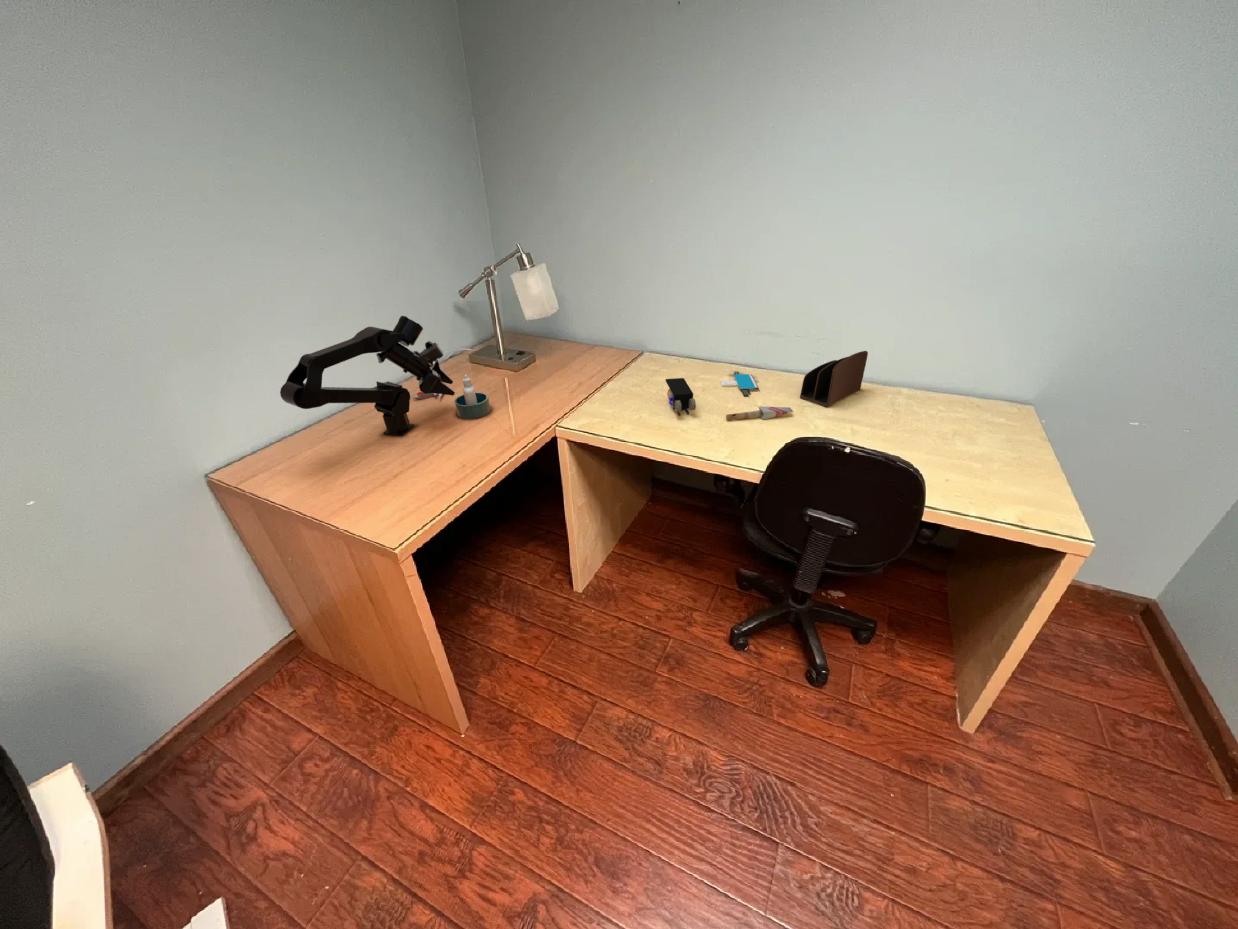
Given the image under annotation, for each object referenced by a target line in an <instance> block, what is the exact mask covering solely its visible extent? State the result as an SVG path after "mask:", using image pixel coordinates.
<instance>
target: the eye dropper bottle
mask: <svg viewBox="0 0 1238 929" xmlns="http://www.w3.org/2000/svg"><path fill="white" fill-rule="evenodd" d="M463 377H464V378H463V379H462V384H463V387H462V392H463V394H464V397H465V402H466V406H467V405H475V404H477V399H476V394H475V392H476V389H475V387H474V385H473V382H472V378H471V377H469V376H468V375H467V374H464V376H463Z"/></svg>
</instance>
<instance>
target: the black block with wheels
mask: <svg viewBox="0 0 1238 929" xmlns="http://www.w3.org/2000/svg"><path fill="white" fill-rule="evenodd" d="M665 383H666V384H667V387H668V388H669V389H668V390H667V393H666V395H667V398H668V400H669V401H668V404H669V405H670V406H671V407H672V410H674V412H675V413H676V414H677V415H678V416H679V417H680V416H681V413H680V412H682V411H683V412H684V411H685V413H686V415H687V416H689V415H690V411H695V410H696V409H697V408H696V407H697V402H696V399H695V398H694V392H693V391H692V389H691V387H690V386H689V384H688V383H687V381H686V379H685V378H684V377H678V378H677V377H676V378H665Z"/></svg>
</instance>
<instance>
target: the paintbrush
mask: <svg viewBox="0 0 1238 929" xmlns="http://www.w3.org/2000/svg"><path fill="white" fill-rule="evenodd" d="M793 412H794V410H793V409H792V408H791V407H788V406H787V407H785V406H761V405H760V406H758V410H753V411H744V412H736V413H729V414H728V413H727V414H725V419H726V421H734V420H743V419H749V418H757V417H758V418H760V419H761V421H764V420H768V419H772V418H775V417H780V416H783V415H786V414H790V413H793Z"/></svg>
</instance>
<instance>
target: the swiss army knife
mask: <svg viewBox="0 0 1238 929" xmlns="http://www.w3.org/2000/svg"><path fill="white" fill-rule="evenodd" d="M442 395H443V394H436V393H430V394H429V393H427V394H425V393H423V392H422V391H419V392H417V393H416V394H414V395H413V396H410V399H414V398H416V399H418V400H424V399H428V398H431V397H436V396H438V400H440V399H441V397H442Z"/></svg>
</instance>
